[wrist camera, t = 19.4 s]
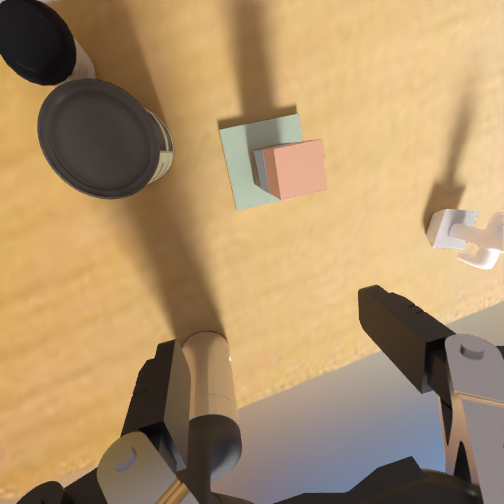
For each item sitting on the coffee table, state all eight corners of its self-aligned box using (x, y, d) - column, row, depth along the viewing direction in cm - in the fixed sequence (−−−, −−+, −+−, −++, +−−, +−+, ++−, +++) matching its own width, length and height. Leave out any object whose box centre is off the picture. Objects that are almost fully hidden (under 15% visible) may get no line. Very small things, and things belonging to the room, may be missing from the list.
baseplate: (305, 193, 44) (307, 194, 43) (236, 209, 43) (237, 210, 42) (296, 114, 39) (299, 113, 38) (218, 130, 38) (219, 129, 37)
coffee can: (96, 96, 34) (32, 62, 21) (177, 115, 37) (164, 95, 24) (96, 176, 37) (39, 189, 24) (170, 189, 40) (155, 207, 27)
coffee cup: (115, 94, 34) (83, 73, 25) (61, 106, 34) (8, 89, 25) (91, 30, 32) (45, -20, 23) (32, 41, 31) (-39, -5, 22)
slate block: (295, 180, 37) (308, 184, 32) (261, 188, 36) (269, 194, 32) (290, 142, 35) (303, 141, 30) (254, 151, 34) (262, 150, 30)
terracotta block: (308, 184, 32) (326, 189, 27) (269, 193, 32) (281, 200, 27) (304, 141, 30) (322, 138, 25) (262, 149, 30) (273, 149, 25)
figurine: (415, 246, 52) (493, 281, 38) (431, 199, 48) (522, 217, 35) (445, 248, 53) (531, 281, 39) (463, 201, 50) (562, 220, 36)
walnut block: (284, 177, 41) (295, 180, 37) (254, 184, 41) (260, 188, 36) (279, 143, 39) (290, 142, 35) (247, 150, 39) (253, 150, 34)
